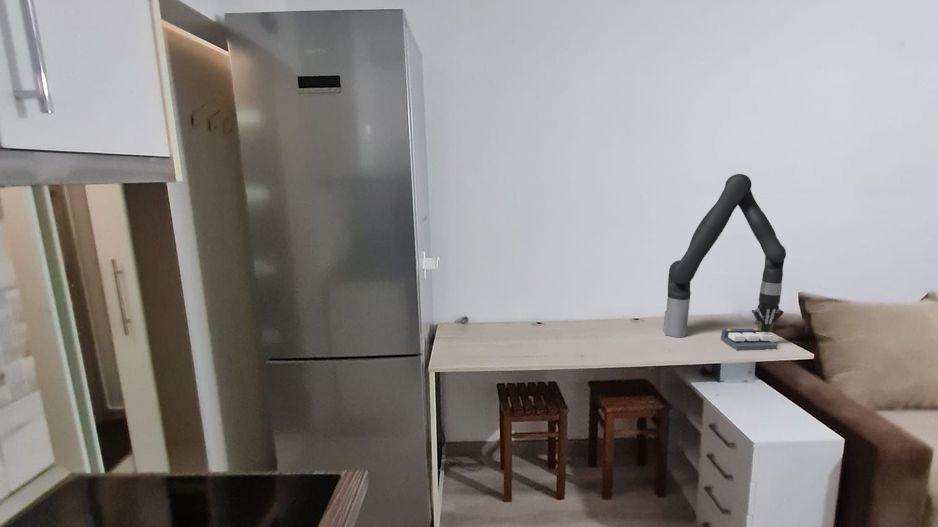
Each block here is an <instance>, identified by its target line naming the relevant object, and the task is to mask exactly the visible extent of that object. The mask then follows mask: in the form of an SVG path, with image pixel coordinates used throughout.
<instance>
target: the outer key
mask: <svg viewBox="0 0 938 527" xmlns="http://www.w3.org/2000/svg"><path fill="white" fill-rule="evenodd" d="M756 335H758V336H759V339H760V340H762V341H771V342H772V341H774V335H772V334H771V333H770V332H756Z"/></svg>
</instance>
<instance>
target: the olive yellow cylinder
mask: <svg viewBox="0 0 938 527" xmlns="http://www.w3.org/2000/svg"><path fill="white" fill-rule="evenodd" d="M761 325H762V323H761V322H759V323H758V327H757V328H760V329H761ZM773 325H774V322H772V323H771V324H770V330H769V331H768V332H767V333H773V332H774V331H773V330H774V328H773V327H774V326H773Z"/></svg>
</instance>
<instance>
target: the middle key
mask: <svg viewBox="0 0 938 527" xmlns="http://www.w3.org/2000/svg"><path fill="white" fill-rule="evenodd" d="M742 335H744V336H746V338H745V339H746V340H748V341H759V336H758V335H756V334H755V333H753V332H746V333H742Z"/></svg>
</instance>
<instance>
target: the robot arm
mask: <svg viewBox="0 0 938 527" xmlns="http://www.w3.org/2000/svg"><path fill="white" fill-rule="evenodd" d="M751 188H752V180H751V178H750V177H749V176H748V175H746V174H743V173H735V174H732V175H731V176H729V177H728V179H727V180H726V181H725V184H724V188H723V191H721V194H720V196H719V197H718V199H717V201H716V203H715V204H714V205H713V206H712V207H711V208H710V209H709V210H708V211H707V213H706V214H705V215H704V217H703V218H702V219H701V221H700V223H698V226H697V227H696V228H695V231H694V233H693V235H692V236H691V237H692V238H691V240H690V241H689V245H688V247H687V250H686V252H685V253H684V254H683V256H682V258H681V259H680V260H676V261H673V263H671V265H670V267H669V269H668V270H669V271H668V279H667V280H668V281H667V299H666V310H665V311H664V316H663V317H664V318H663V319H664V321H663V327H662V328H663V329H662V331H663V333H664V335H665V336H669V337H673V338H685V337H686V336H687V332H688V322H689V313H690V312H689V311H690V305H691V304H690V302H691V281H692V280H693V279H694V277H695V275H696V274H697V271H698V269H699V267H700V265H701V263H702V261H703V259H704V258H705V257H706V256H707V254H708V253H709V251H710V250H711V249H712V247H713V246H714V244H715V243H716V242H717V240H718V239H719V237H720V235H722V233H723V231H724V229H725V228H726V226H727V224H728V223H729V220H730V218H731V217H732V214H733V213H734V211H735V209H736V208H737V206H738V207H739V208H740V209H739V210H741V212H742V214H743V216H744V218H745V220H746V222H747V224H748V226H749V228H750V229H751V232H752V233H753V235H754V237H755V238H756V240H757V241H758V243H759V245H760V247H761V249H762V252H763V253H764V257H765V258H764V268H763V272H762V279H761V284H760V288H759V296H758V305H757V308H756V309H752V310H751V313H752V315H753V316H754V318H755V319H756V320H757V322H759V323H760V322H761V323H762V325H761V330H762V331H763V332H767V333H769V332H768V331H769V330H770V324H771V323H772V322H773V323H776V322H777V321H778V320H779V318H780V317H781V316H783V314H784V311H783V310H782V309H780V306H779V305H780V303H781V296H782V295H781V294H782V289H783V288H782V283H783V276H784V270H783V268H784V263H785V259H786V256H787V253H786V252H787V251H786V248H785V247H784V245H782V243H781V242H780V240H779V239H778V237H777V234H776V230H774V227H773V226H772V224H771V222H770V221H769V219H768V217H767V216H766V214H765V213H764V211H763V210H762V209H761V207H760V206H759V204H758V203H757V201H756V199H755V197H754V194H753V192H752V190H751Z"/></svg>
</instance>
